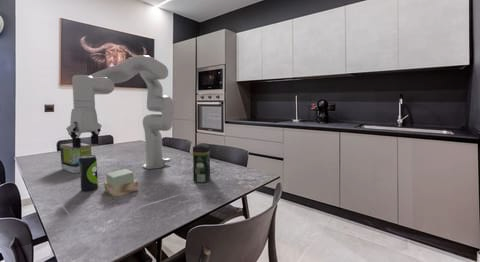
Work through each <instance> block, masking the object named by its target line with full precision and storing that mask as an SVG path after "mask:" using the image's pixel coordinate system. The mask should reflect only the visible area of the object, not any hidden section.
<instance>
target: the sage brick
mask: <svg viewBox="0 0 480 262" xmlns="http://www.w3.org/2000/svg"><path fill="white" fill-rule="evenodd" d="M105 175H106V182H107V183H109V184H110V185H112V186H113V187H116V186H120V185H123V184H126V183H130V182H133V181H134V179H135V177H134V172H133V171H132V170H129V169H127V168H123V169H118V170H114V171H111V172H108V173H106V174H105Z"/></svg>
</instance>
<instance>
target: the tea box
mask: <svg viewBox="0 0 480 262" xmlns="http://www.w3.org/2000/svg"><path fill="white" fill-rule="evenodd" d="M59 148H60V162H61V163H60V165H61V170H63V171H66V172H69V173H72V174H76V173H80V164H79V159H80V157H81V156H84V155H92V144H91V143H90V144H89V143H84V142H81V148H73V142H72V143H61V144H60V145H59Z"/></svg>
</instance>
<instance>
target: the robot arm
mask: <svg viewBox="0 0 480 262" xmlns="http://www.w3.org/2000/svg"><path fill="white" fill-rule="evenodd" d="M138 74H139V75H140V77H141V78H142V80H143V81H144V82H145V85H146V88H147V95H146V96H147V97H146V109H147V111H149V112H152V113H149V114H147V115H145V116H144V117H143V119H142V126H143V130H144V141H145V143H144V147H145V163H144V164H143V165H142V167H143V168H144V169H145V170H146V169H147V170H154V169H156V170H157V169H161V168H164V167H165V166H166V163H170V162H171V158H164V157H163V137H162V136H163V135H162V133H161V131H163V132H168V131H170V130H171V129H172V128H173V125H174V112H175V110H174V108H175V107H174V106H175V105H174V100H173V98H171V97H170V96H167V95H163V94H164V93H163V92H164V90H163V89H164V88H163V85H162V83H161V82H160V80H165V79H167V77H168V76H169V70H168V68H167V66H166V65H165V64H164V63H163V62H161V61H159V60H158V59H156V58H154V57H152V56H150V55H134V56H131V57H128V58H127V59H125V60H123V61H121V62H119V63H117V64H115V65H112V66H109V67H107V68H104V69H102V70H98V71H96V72H94V73H92V74H89V75H86V74H74V75H72V78H71V79H72V80H71V81H72V98H73V99H72V100H73V103H72V105H73V108H72V109H71V112H70V125H69V126H67V127H66V129H65V130H66V131H67V133H68V135H69V136H70V138H71V140H72V141H71V142H72V143H73V148H81V143H82V139H81V134H85V133H90V134H91V135H90V142H91V143H90V145H99V135H100V133H101V128H102V124H101V123H99V122H98V114H97V109H96V100H95V99H96V98H95V97H96V96H95V95H109V94H111V93H112V92H114V90H115V84H120V83H124V82H126V81H127V82H128V81H129V80H130V79H132V78H134V77H135V76H136V75H138ZM156 113H158V114H156ZM159 113H161V114H159Z"/></svg>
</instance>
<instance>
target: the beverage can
mask: <svg viewBox="0 0 480 262" xmlns="http://www.w3.org/2000/svg"><path fill="white" fill-rule="evenodd" d="M79 164H80V172H79V177H80V191H82V192H86V193H87V192H93V191H96V190H97V189H98V188H99V181H98V161H97V156H96V154H91V155H84V156H81V157H80V159H79Z"/></svg>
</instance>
